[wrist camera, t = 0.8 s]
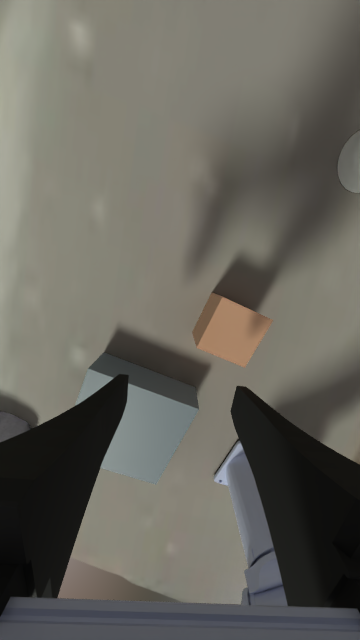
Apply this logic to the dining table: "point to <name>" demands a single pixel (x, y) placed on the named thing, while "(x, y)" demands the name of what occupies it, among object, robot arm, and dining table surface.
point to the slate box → (143, 417)
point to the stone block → (11, 426)
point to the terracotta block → (229, 330)
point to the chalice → (350, 164)
